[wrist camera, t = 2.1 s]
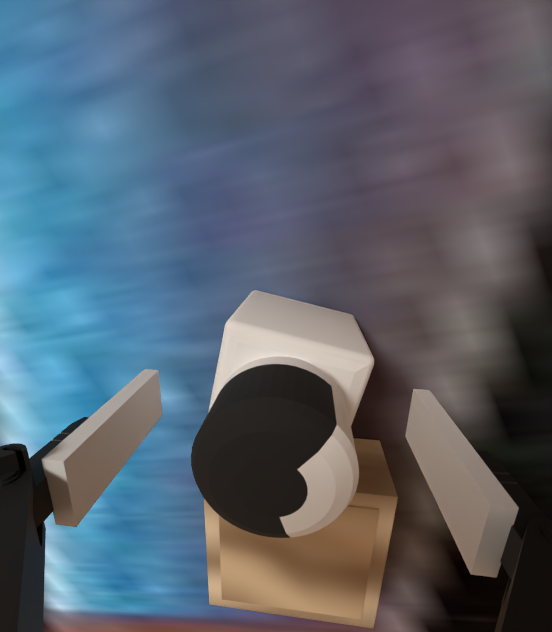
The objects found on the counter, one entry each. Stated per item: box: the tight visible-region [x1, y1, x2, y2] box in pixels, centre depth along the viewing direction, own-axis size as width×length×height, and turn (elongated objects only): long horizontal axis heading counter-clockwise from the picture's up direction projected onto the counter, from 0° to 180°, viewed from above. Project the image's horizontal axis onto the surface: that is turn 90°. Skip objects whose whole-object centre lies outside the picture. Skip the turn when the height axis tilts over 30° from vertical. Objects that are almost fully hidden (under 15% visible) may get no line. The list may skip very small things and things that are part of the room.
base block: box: [204, 438, 398, 628], centre depth 23 cm, size 12×12×5 cm
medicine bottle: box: [191, 290, 374, 538], centre depth 16 cm, size 7×7×12 cm
